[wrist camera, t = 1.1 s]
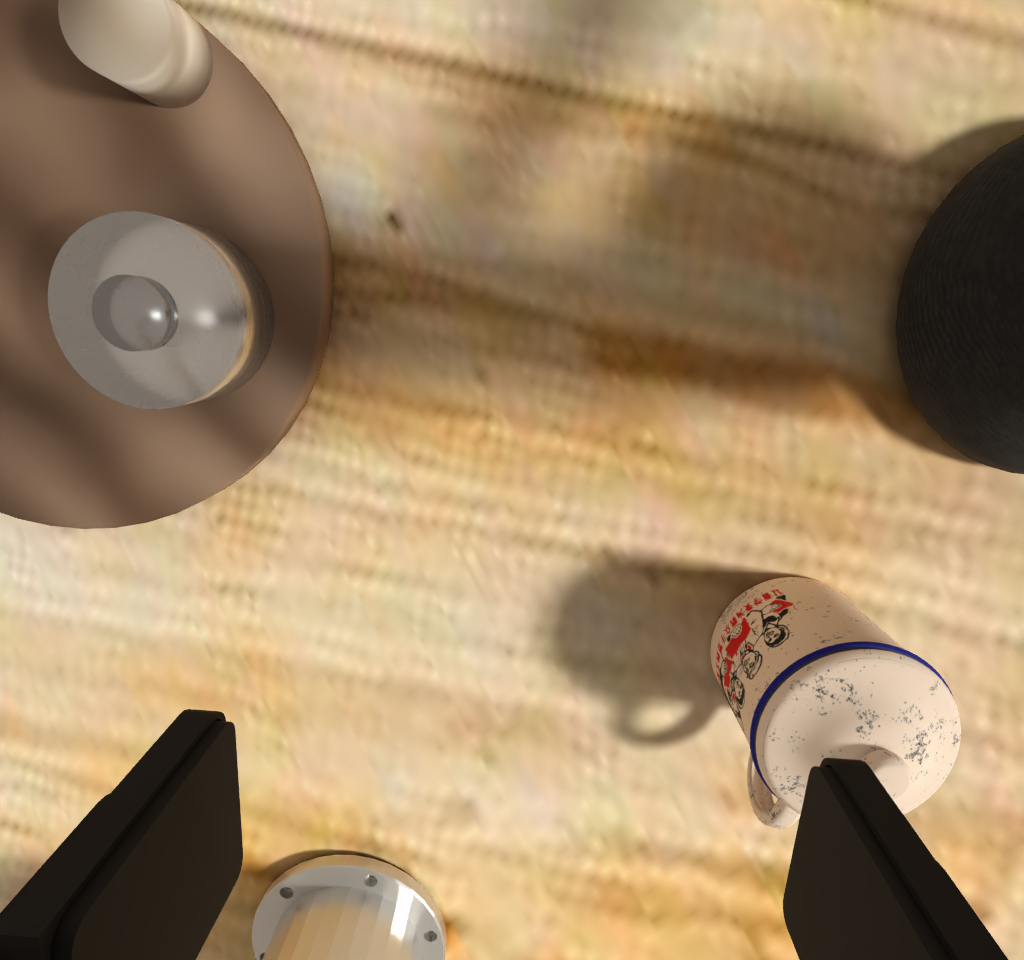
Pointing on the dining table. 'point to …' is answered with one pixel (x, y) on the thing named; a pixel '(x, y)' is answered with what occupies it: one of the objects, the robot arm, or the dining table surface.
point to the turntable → (160, 191)
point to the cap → (159, 310)
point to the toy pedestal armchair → (971, 314)
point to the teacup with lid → (828, 697)
